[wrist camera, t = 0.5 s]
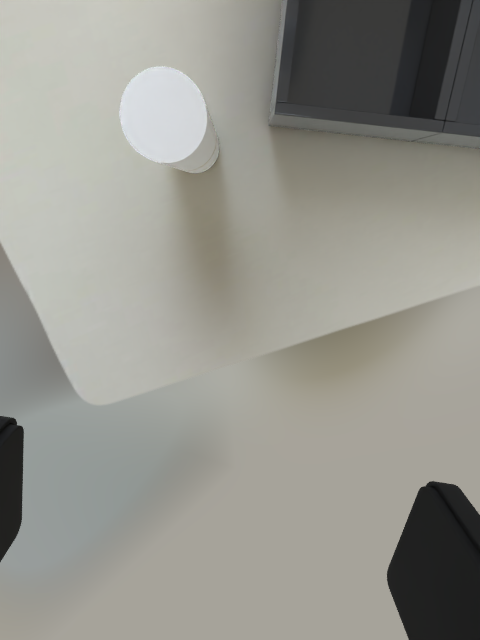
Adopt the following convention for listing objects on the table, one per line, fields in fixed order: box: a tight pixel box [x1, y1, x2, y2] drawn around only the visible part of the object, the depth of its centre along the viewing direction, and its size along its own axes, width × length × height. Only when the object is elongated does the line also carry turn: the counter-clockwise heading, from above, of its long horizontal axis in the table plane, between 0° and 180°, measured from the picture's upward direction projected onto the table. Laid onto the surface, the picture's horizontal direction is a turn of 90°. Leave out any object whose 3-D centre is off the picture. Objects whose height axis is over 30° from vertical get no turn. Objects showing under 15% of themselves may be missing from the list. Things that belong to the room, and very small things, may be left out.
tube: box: [120, 66, 219, 173], centre depth 27 cm, size 4×4×15 cm
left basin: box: [268, 0, 473, 141], centre depth 29 cm, size 14×12×6 cm
